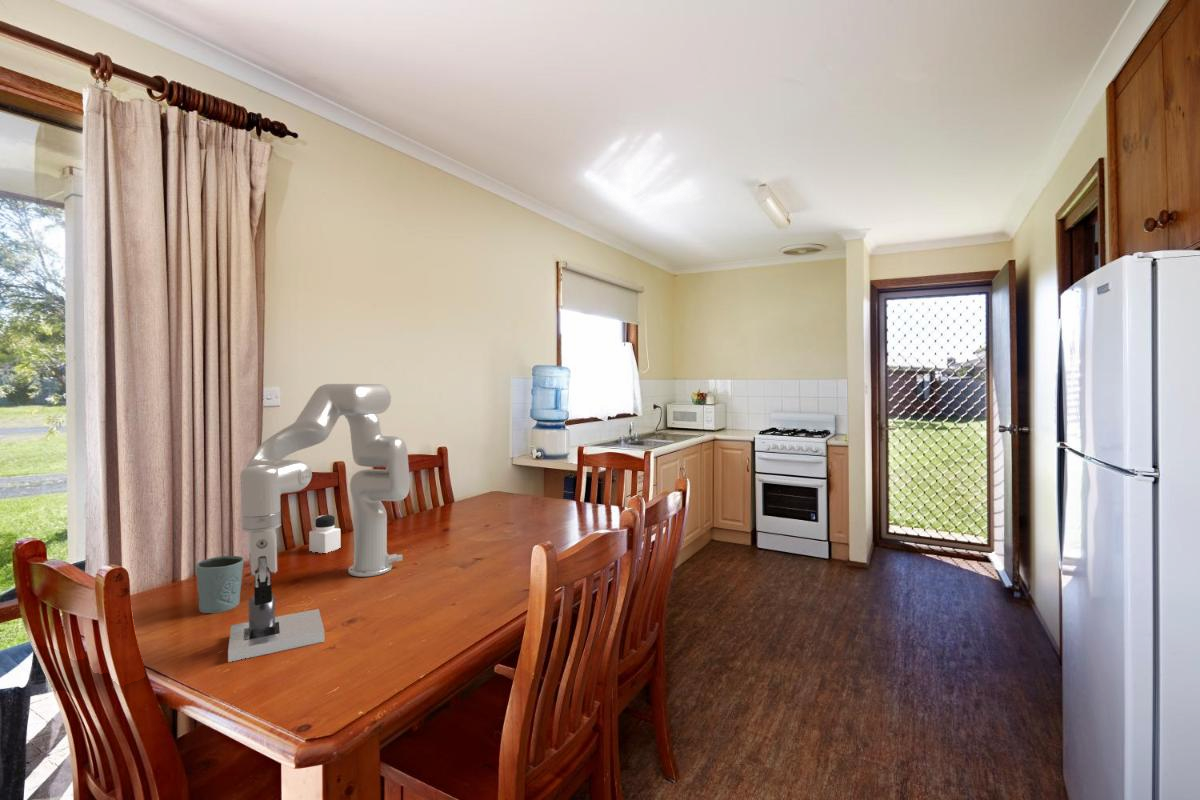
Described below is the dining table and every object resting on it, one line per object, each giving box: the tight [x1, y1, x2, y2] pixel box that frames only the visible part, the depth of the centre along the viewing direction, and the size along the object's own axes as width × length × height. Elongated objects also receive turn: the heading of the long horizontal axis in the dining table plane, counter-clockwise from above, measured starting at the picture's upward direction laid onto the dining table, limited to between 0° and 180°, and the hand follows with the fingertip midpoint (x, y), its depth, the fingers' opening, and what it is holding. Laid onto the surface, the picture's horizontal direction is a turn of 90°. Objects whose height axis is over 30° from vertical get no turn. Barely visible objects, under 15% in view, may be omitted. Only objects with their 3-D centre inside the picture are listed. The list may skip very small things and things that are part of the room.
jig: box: [227, 608, 325, 663], centre depth 124 cm, size 18×14×2 cm
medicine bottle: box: [308, 514, 342, 554], centre depth 190 cm, size 7×7×12 cm
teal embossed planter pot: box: [195, 555, 245, 614], centre depth 141 cm, size 10×10×12 cm
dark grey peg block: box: [248, 593, 276, 640], centre depth 123 cm, size 5×5×10 cm
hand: (263, 595), depth 123 cm, fingers open, 9 cm apart
